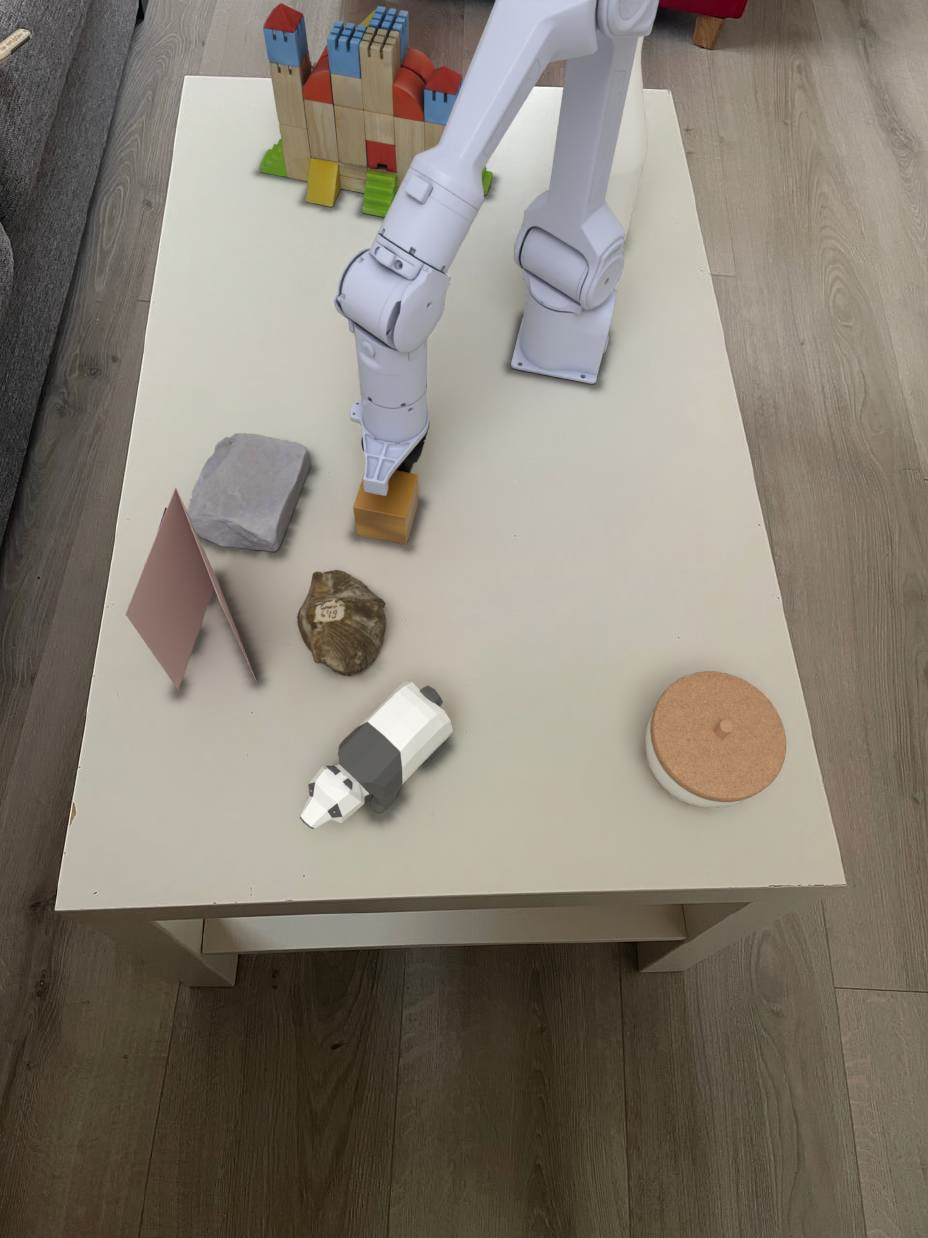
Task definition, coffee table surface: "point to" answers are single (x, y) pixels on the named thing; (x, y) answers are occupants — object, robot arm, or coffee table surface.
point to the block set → (354, 106)
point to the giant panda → (379, 755)
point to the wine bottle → (629, 148)
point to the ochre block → (388, 509)
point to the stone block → (248, 491)
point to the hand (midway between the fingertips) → (397, 477)
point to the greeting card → (175, 592)
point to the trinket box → (714, 740)
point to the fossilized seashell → (342, 622)
